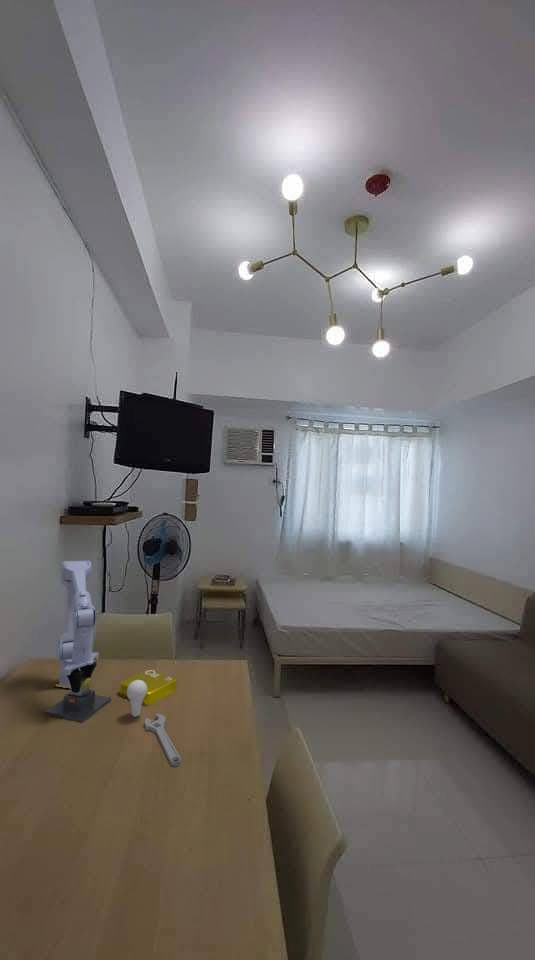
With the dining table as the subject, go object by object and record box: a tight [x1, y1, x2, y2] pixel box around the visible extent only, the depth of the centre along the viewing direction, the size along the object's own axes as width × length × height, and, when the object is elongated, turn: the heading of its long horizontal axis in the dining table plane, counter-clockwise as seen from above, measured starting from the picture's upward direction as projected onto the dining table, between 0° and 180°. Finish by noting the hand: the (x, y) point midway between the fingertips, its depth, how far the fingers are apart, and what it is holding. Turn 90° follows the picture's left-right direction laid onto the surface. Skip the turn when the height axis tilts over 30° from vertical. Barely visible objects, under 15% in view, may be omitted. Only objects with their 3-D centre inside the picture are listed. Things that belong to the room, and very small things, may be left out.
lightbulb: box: [127, 680, 147, 717], centre depth 130 cm, size 6×6×11 cm
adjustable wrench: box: [144, 713, 182, 767], centre depth 117 cm, size 25×6×2 cm, turn 25°
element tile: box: [119, 669, 178, 706], centre depth 147 cm, size 15×15×5 cm
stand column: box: [69, 676, 91, 698], centre depth 134 cm, size 4×4×8 cm
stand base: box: [43, 688, 112, 723], centre depth 134 cm, size 14×14×5 cm
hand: (80, 688), depth 134 cm, fingers closed on stand column, 4 cm apart
